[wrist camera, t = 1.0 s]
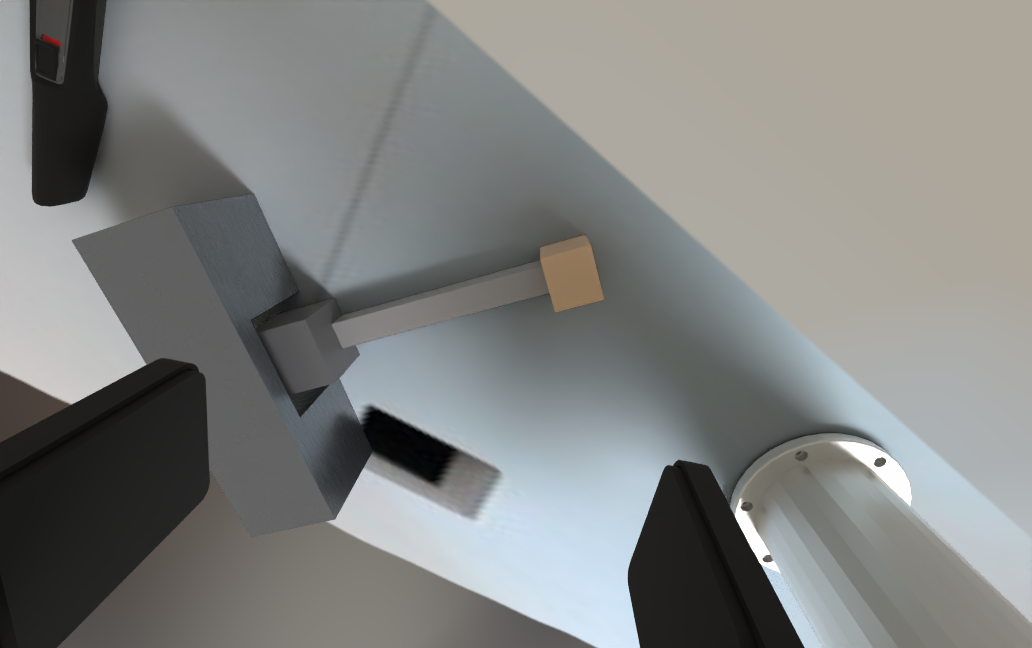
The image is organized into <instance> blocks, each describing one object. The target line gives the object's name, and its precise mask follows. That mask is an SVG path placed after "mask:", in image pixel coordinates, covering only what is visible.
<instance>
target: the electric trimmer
mask: <svg viewBox="0 0 1032 648" xmlns="http://www.w3.org/2000/svg"><path fill="white" fill-rule="evenodd" d="M105 7H106V0H30V72H31V79H32V91H33V107H32V196H33V200H34V202H35V203H36V204H38V205H40V206H57V205H62V204H67V203H71V202H76V201H79V200H81V199H82V198H84V197H85V195H86V193H87V190H88V186H89V182H90V178H91V174H92V171H93V167H94V163H95V159H96V155H97V151H98V147H99V143H100V140H101V136H102V132H103V127H104V122H105V118H106V113H107V109H108V108H107V102H106V100H105V98H104V96H103V94H102V92H101V90H100V88H99V87H98V85H97V83H98V73H99V64H100V54H101V45H102V36H103V26H104V17H105Z"/></svg>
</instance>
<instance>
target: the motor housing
mask: <svg viewBox="0 0 1032 648" xmlns="http://www.w3.org/2000/svg"><path fill="white" fill-rule="evenodd" d="M72 242H73V244H74V245H75V247H76V249H77V250H78V252H79V253H80V255H81V257H82V258H83V260H84V262H85V263H86V265H87V267H88V268H89V270H90V272H91V273H92V275H93V277H94V278H95V280H96V282H97V283H98V285H99V287H100V288H101V290H102V291H103V293H104V295H105V296H106V298H107V300H108V301H109V303H110V305H111V306H112V308H113V310H114V311H115V313H116V315H117V316H118V318H119V320H120V321H121V323H122V325H123V326H124V328H125V329H126V331H127V333H128V334H129V336H130V338H131V339H132V341H133V343H134V344H135V346H136V348H137V349H138V351H139V353H140V354H141V356H142V358H143V359H144V361H145V363H146V364H147V365H148V364H150V363H151V362H153V361H155V360H157V359H160V358H168V359H173V360H178V361H183V362H188V363H193V364H195V365H196V366H197V367H198V369H199V372H201V373H202V374H204V376H205V380H206V400H207V426H208V451H209V468H210V470H211V471H212V473H213V475H214V477H215V478H216V480H217V482H218V483H219V485H220V486H221V488H222V490H223V491H224V493H225V495H226V496H227V498H228V499H229V501H230V503H231V505H232V506H233V508H234V510H235V511H236V513H237V515H238V516H239V518H240V520H241V521H242V523H243V524H244V526H245V527H246V529H247V531H248V533H249V534H250V536H251V537H254V536H259V535H264V534H268V533H273V532H278V531H282V530H287V529H292V528H297V527H301V526H305V525H310V524H315V523H320V522H325V521H329V520H334V519H336V517H337V515H338V513H339V511H340V509H341V508H342V506H343V504H344V502H345V500H346V499H347V497H348V495H349V493H350V491H351V490H352V488H353V486H354V484H355V482H356V480H357V479H358V477H359V475H360V473H361V471H362V470H363V468H364V466H365V464H366V462H367V460H368V459H369V457H370V455H371V453H372V449H371V446H370V444H369V442H368V440H367V438H366V436H365V433H364V431H363V429H362V427H361V425H360V423H359V420H358V418H357V416H356V414H355V412H354V410H353V407H352V405H351V403H350V401H349V399H348V397H347V394H346V392H345V390H344V388H343V386H342V384H341V382H340V379H338V380H337V381H336V382H335V383H334V384H330V385H326V386H322V387H318V388H314V389H311V390H307V391H303V392H299V393H295V394H291V395H288V393H287V391H286V389H285V387H284V385H283V383H282V381H281V379H280V378H279V376H278V374H277V372H276V370H275V368H274V366H273V364H272V362H271V360H270V358H269V356H268V354H267V352H266V350H265V348H264V346H263V344H262V342H261V340H260V338H259V336H258V334H257V332H256V330H255V328H254V326H253V324H252V322H251V319H253V318H255V317H256V316H258V315H260V314H261V313H263V312H265V311H267V310H268V309H270V308H272V307H273V306H275V305H277V304H278V303H280V302H282V301H283V300H285V299H287V298H288V297H290V296H292V295H294V294H295V293H297V292H299V291H298V289H297V286H296V284H295V282H294V280H293V278H292V276H291V273H290V271H289V269H288V267H287V265H286V263H285V260H284V258H283V256H282V254H281V252H280V250H279V248H278V245H277V243H276V241H275V239H274V237H273V235H272V232H271V230H270V228H269V226H268V224H267V222H266V219H265V217H264V215H263V213H262V211H261V209H260V206H259V204H258V202H257V200H256V198H255V196H254V194H250V195H244V196H237V197H231V198H225V199H219V200H212V201H206V202H200V203H193V204H187V205H181V206H174V207H170V208H167V209H164V210H161V211H158V212H155V213H152V214H149V215H146V216H143V217H140V218H137V219H134V220H131V221H128V222H125V223H122V224H119V225H116V226H113V227H110V228H107V229H104V230H101V231H98V232H95V233H92V234H89V235H86V236H83V237H80V238H77V239H74V240H72Z"/></svg>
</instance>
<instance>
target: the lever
mask: <svg viewBox="0 0 1032 648" xmlns="http://www.w3.org/2000/svg"><path fill="white" fill-rule="evenodd" d="M548 293H550V296H551V300H552V303H553V307H554V311H555V312H559V311H563V310H567V309H571V308H575V307H578V306H582V305H586V304H590V303H594V302H598V301H601V300H604V297H603V293H602V289H601V284H600V280H599V276H598V272H597V268H596V264H595V260H594V256H593V251H592V247H591V244H590V242H589V240H588V238H587V237H586V235H582V236H579V237H575V238H571V239H568V240H564V241H561V242H557V243H554V244H550V245H547V246H543V247H540V260H538V261H535V262H531V263H528V264H524V265H520V266H517V267H513V268H510V269H506V270H502V271H499V272H495V273H492V274H488V275H484V276H481V277H477V278H474V279H470V280H467V281H463V282H459V283H456V284H452V285H449V286H445V287H441V288H438V289H434V290H431V291H427V292H423V293H420V294H416V295H413V296H409V297H405V298H402V299H398V300H395V301H391V302H388V303H384V304H380V305H377V306H373V307H370V308H366V309H362V310H359V311H355V312H352V313H348V314H344V315H342V313H341V311H340V309H339V307H338V304H337V302H336V300H335V298H332V299H329V300H325V301H322V302H318V303H315V304H311V305H308V306H304V307H301V308H297V309H294V310H290V311H287V312H283V313H279V314H277V315H275V316H274V317H272V318H271V319H269V320H267V321H266V322H264V323H263V324H261V325H260V326H258V327H256V328H255V330H256V332H257V334H258V336H259V338H260V340H261V342H262V344H263V346H264V348H265V350H266V352H267V354H268V356H269V358H270V360H271V362H272V364H273V366H274V368H275V370H276V372H277V374H278V376H279V378H280V379H281V381H282V383H283V385H284V387H285V389H286V391H287V393H288V395H291V394H295V393H299V392H303V391H307V390H311V389H314V388H318V387H322V386H326V385H330V384H334V383H335V382H336V381H337V380H338V379H339V378H340V377H341V376H342V374H343V373H344V372H345V371H346V370H347V369H348V367H349V366H350V365H351V364H352V363H353V362H354V361H355V359H356V358H357V357H358V356H359V355H360V354H359V352H358V350H357V347H356V345H357V344H361V343H365V342H369V341H372V340H376V339H380V338H383V337H387V336H391V335H395V334H398V333H402V332H406V331H410V330H413V329H417V328H421V327H425V326H428V325H432V324H436V323H440V322H443V321H447V320H451V319H454V318H458V317H462V316H466V315H469V314H473V313H477V312H481V311H484V310H488V309H492V308H496V307H499V306H503V305H507V304H511V303H514V302H518V301H522V300H525V299H529V298H533V297H537V296H540V295H544V294H548Z"/></svg>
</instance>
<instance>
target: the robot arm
mask: <svg viewBox="0 0 1032 648" xmlns="http://www.w3.org/2000/svg"><path fill="white" fill-rule="evenodd" d="M209 483H210V478H209V451H208V426H207V400H206V380H205V376H204V374H202V373H201V372H199V369H198V367H197V366H196V365H195V364H193V363H188V362H183V361H178V360H173V359H168V358H160V359H157V360H155V361H153V362H151V363H150V364H148V365H146V366H144V367H142V368H140V369H138V370H136V371H134V372H133V373H131V374H129V375H127V376H125V377H123V378H121V379H119V380H117V381H116V382H114V383H112V384H110V385H108V386H106V387H104V388H102V389H101V390H99V391H97V392H95V393H93V394H91V395H89V396H87V397H85V398H84V399H82V400H80V401H78V402H76V403H74V404H72V405H70V406H69V407H67V408H65V409H63V410H61V411H59V412H57V413H55V414H53V415H52V416H50V417H48V418H46V419H44V420H42V421H40V422H38V423H37V424H35V425H33V426H31V427H29V428H27V429H25V430H23V431H21V432H20V433H18V434H16V435H14V436H12V437H10V438H8V439H6V440H5V441H3V442H1V443H0V648H57V647H58V646H59V645H60V644H61V643H62V642H63V641H64V640H65V639H66V638H67V637H68V636H69V635H70V634H71V633H72V632H73V631H74V630H75V629H76V628H77V627H78V626H79V625H80V624H81V623H82V622H83V621H84V619H86V618H87V617H88V616H89V615H90V614H91V613H92V612H93V611H94V609H96V607H97V606H98V605H99V604H100V603H101V602H102V601H103V600H104V599H105V598H106V597H107V596H108V595H109V594H110V593H111V592H112V591H113V590H114V589H115V588H116V587H117V586H118V585H119V584H120V583H121V582H122V581H123V580H124V579H125V578H126V577H127V576H128V575H129V574H130V573H131V572H132V571H133V570H134V569H135V568H136V567H137V566H138V565H139V564H140V563H141V562H142V561H143V560H144V559H145V558H146V557H147V556H148V555H149V554H150V553H151V552H152V551H153V550H154V549H155V547H157V546H158V545H159V544H160V543H161V542H162V541H163V540H164V539H165V538H166V537H167V536H168V535H169V534H170V532H172V530H173V529H175V528H176V527H177V525H179V524H180V522H181V521H183V519H184V518H185V517H186V516H187V515H188V514H189V513H190V512H191V511H192V510H193V509H194V508H195V507H196V506H197V505H198V504H199V503H200V502H201V501H202V500H203V499H204V497H205V495H206V493H207V491H208V488H209ZM911 497H912V495H911V487H910V482H909V480H908V477H907V475H906V473H905V471H904V469H903V468H902V467H901V466H900V464H899V463H898V462H897V461H896V460H895V459H894V458H893V457H892V456H891V455H890V454H888V453H887V452H886V451H885V450H884V449H882V448H881V447H879V446H878V445H876V444H874V443H873V442H871V441H868V440H866V439H863V438H860V437H857V436H852V435H846V434H840V433H822V434H816V435H809V436H804V437H801V438H797V439H794V440H791V441H788V442H786V443H784V444H782V445H780V446H777V447H775V448H773V449H772V450H770V451H769V452H767V453H766V454H764V455H763V456H761V457H760V458H758V459H757V460H756V461H755V462H754V463H753V464H752V465H751V466H750V467H749V468H748V469H747V470H746V471H745V473H744V474H743V476H742V477H741V478H740V480H739V481H738V483H737V485H736V487H735V489H734V492H733V494H732V498H731V503H730V506H729V504H728V502H727V500H726V498H725V496H724V494H723V492H722V490H721V489H720V487H719V485H718V483H717V481H716V479H715V477H714V475H713V473H712V471H711V469H710V468H709V467H708V466H706V465H703V464H698V463H692V462H687V461H682V460H678V461H676V462H675V463H674V465H673V466H670V465H667V466H666V467H665V468H664V470H663V473H662V476H661V478H660V481H659V484H658V487H657V490H656V492H655V495H654V498H653V501H652V503H651V506H650V509H649V512H648V515H647V517H646V520H645V523H644V526H643V528H642V531H641V534H640V537H639V539H638V542H637V545H636V548H635V551H634V553H633V556H632V559H631V562H630V565H629V569H628V586H629V592H630V597H631V602H632V607H633V612H634V618H635V623H636V628H637V633H638V638H639V644H640V648H804V646H803V644H802V642H801V640H800V638H799V636H798V635H797V633H796V631H795V629H794V627H793V625H792V623H791V621H790V619H789V617H788V615H787V614H786V612H785V610H784V608H783V606H782V604H781V602H780V600H779V598H778V596H777V595H776V593H775V591H774V589H773V587H772V585H771V583H770V581H769V579H768V577H767V575H766V574H765V572H764V570H763V568H762V566H761V564H762V565H764V566H766V567H767V568H769V569H772V570H775V571H778V572H780V573H781V575H782V577H783V578H784V580H785V582H786V584H787V585H788V587H789V589H790V591H791V592H792V594H793V596H794V598H795V600H796V601H797V603H798V605H799V607H800V608H801V610H802V612H803V614H804V615H805V617H806V619H807V621H808V622H809V624H810V626H811V628H812V629H813V631H814V633H815V635H816V637H817V638H818V640H819V642H820V644H821V645H822V647H823V648H1032V623H1031V622H1030V621H1029V620H1028V619H1027V618H1026V617H1025V616H1024V615H1023V614H1022V613H1021V612H1020V611H1019V610H1018V609H1017V608H1016V607H1015V606H1014V605H1013V604H1012V603H1011V602H1009V601H1008V600H1007V599H1006V598H1005V597H1004V596H1003V595H1002V594H1001V593H1000V592H999V591H998V590H997V589H996V588H995V587H994V586H993V585H992V584H991V583H990V582H989V581H988V580H987V579H986V578H985V577H984V576H982V575H981V574H980V573H979V572H978V571H977V570H976V569H975V568H974V567H973V566H972V565H971V564H970V563H969V562H968V561H967V560H966V559H965V558H964V557H963V556H962V555H961V554H960V553H959V552H958V551H957V550H956V549H954V548H953V547H952V546H951V545H950V544H949V543H948V542H947V541H946V540H945V539H944V538H943V537H942V536H941V535H940V534H939V533H938V532H937V531H936V530H935V529H934V528H933V527H932V526H931V525H930V524H929V523H928V522H926V521H925V520H924V519H923V518H922V517H921V516H920V515H919V514H918V513H917V512H916V511H915V510H914V509H913V508H912V507H911V506H910V505H911Z"/></svg>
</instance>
